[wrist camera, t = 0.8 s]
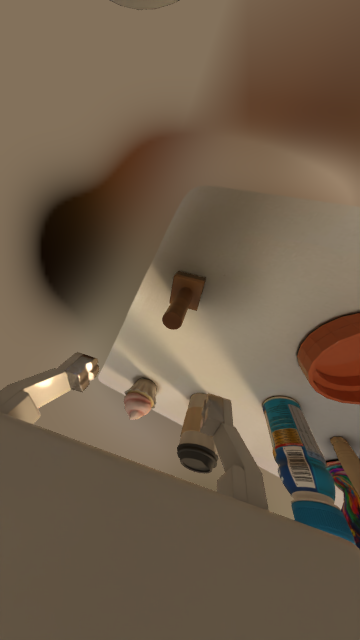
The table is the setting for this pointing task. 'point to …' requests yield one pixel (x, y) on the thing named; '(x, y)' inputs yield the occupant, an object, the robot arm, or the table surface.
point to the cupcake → (140, 398)
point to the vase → (347, 498)
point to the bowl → (334, 359)
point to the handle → (348, 461)
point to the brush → (183, 298)
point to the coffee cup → (196, 440)
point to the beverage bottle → (303, 468)
